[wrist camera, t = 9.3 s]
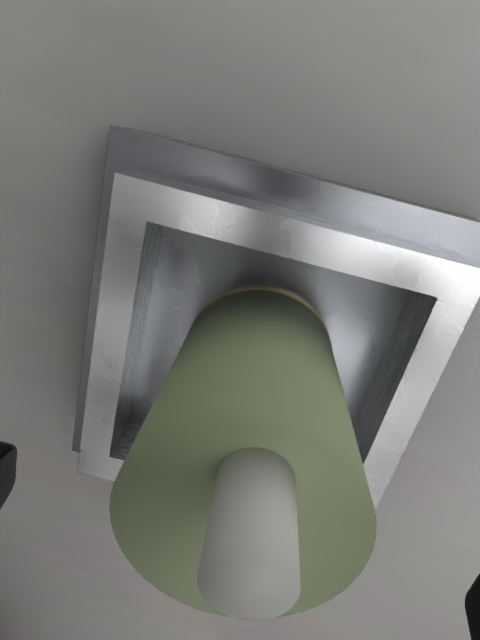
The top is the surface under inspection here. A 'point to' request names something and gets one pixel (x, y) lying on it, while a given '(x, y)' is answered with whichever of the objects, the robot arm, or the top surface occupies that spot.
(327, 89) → the top surface
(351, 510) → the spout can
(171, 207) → the grey square holder
